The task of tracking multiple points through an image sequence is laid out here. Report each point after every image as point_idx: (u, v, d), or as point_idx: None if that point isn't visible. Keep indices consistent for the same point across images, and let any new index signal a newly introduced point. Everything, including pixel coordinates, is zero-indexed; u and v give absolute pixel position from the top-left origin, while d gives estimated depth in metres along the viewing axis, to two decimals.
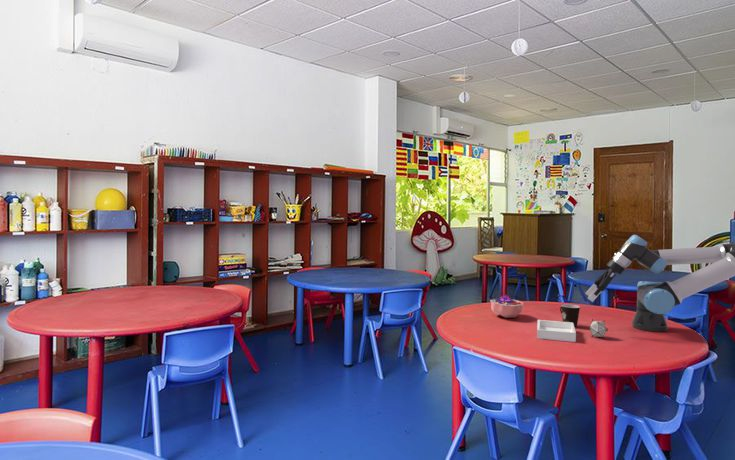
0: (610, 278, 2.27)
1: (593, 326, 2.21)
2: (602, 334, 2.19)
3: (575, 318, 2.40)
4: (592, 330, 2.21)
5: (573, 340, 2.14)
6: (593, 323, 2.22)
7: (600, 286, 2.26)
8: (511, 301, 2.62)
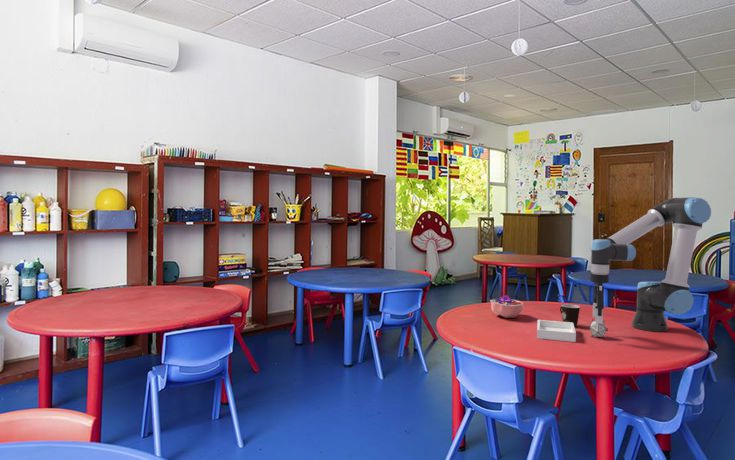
0: (601, 292, 2.14)
1: (593, 326, 2.21)
2: (602, 334, 2.19)
3: (575, 318, 2.40)
4: (592, 330, 2.21)
5: (573, 340, 2.14)
6: (593, 323, 2.22)
7: (598, 305, 2.12)
8: (511, 301, 2.62)
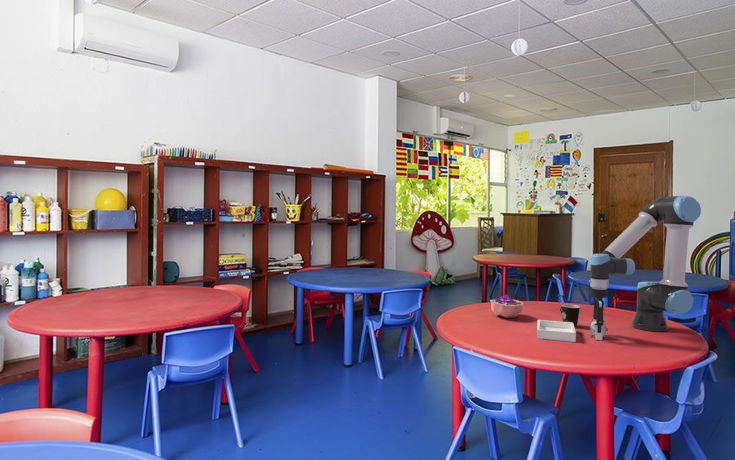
0: (601, 309, 2.15)
1: (593, 326, 2.21)
2: (602, 334, 2.19)
3: (575, 318, 2.40)
4: (592, 330, 2.21)
5: (573, 340, 2.14)
6: (593, 323, 2.22)
7: (597, 323, 2.14)
8: (511, 301, 2.62)
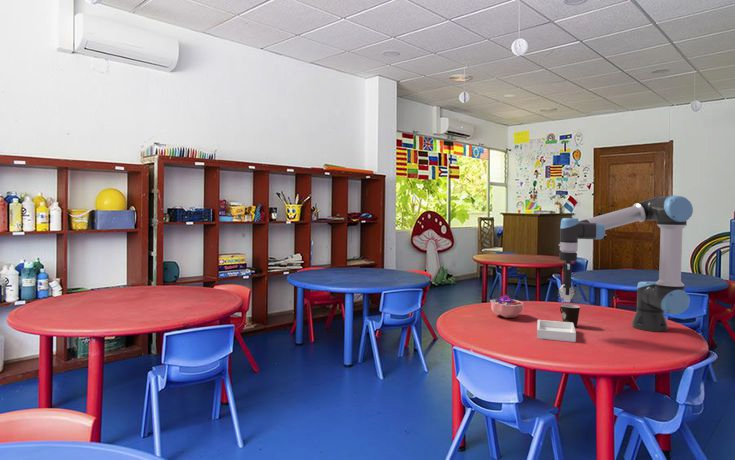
0: (569, 271, 2.17)
1: (562, 289, 2.23)
2: (570, 297, 2.22)
3: (575, 318, 2.40)
4: (561, 293, 2.23)
5: (573, 340, 2.14)
6: (562, 286, 2.24)
7: (565, 285, 2.16)
8: (511, 301, 2.62)
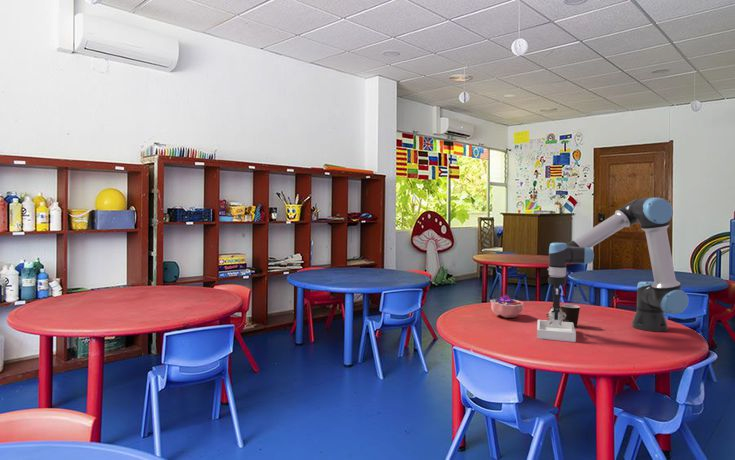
0: (557, 296, 2.19)
1: (551, 313, 2.25)
2: (559, 321, 2.23)
3: (575, 318, 2.40)
4: (550, 317, 2.25)
5: (573, 340, 2.14)
6: (551, 310, 2.26)
7: (554, 310, 2.18)
8: (511, 301, 2.62)
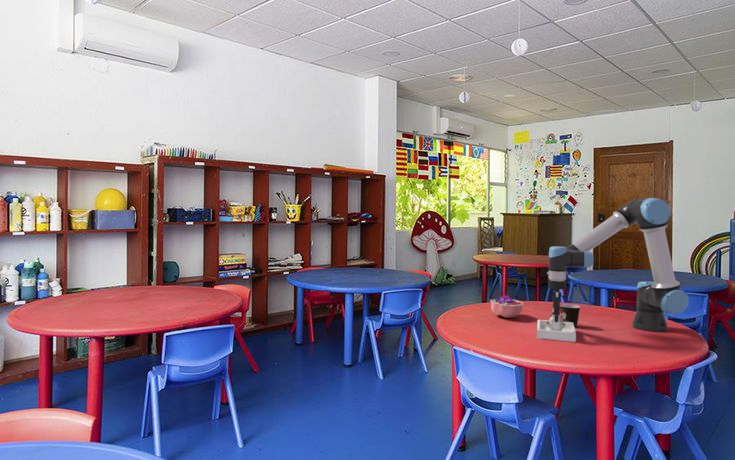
0: (557, 299, 2.19)
1: (551, 321, 2.25)
2: (559, 329, 2.24)
3: (575, 318, 2.40)
4: (550, 325, 2.25)
5: (573, 340, 2.14)
6: (551, 318, 2.26)
7: (554, 312, 2.17)
8: (511, 301, 2.62)
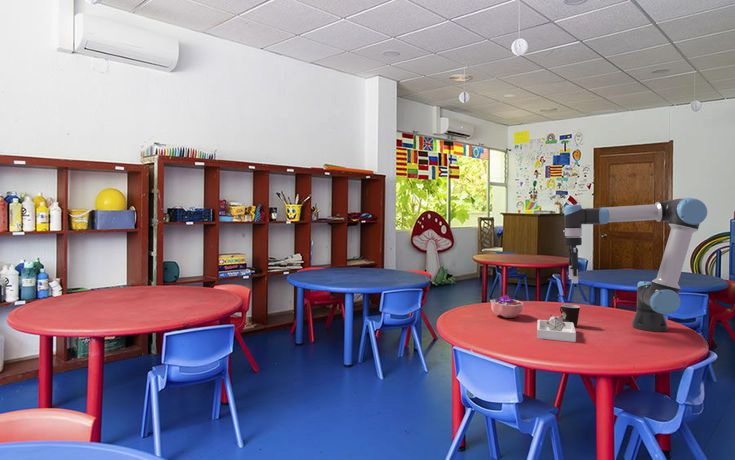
0: (575, 254, 2.27)
1: (551, 321, 2.25)
2: (559, 329, 2.24)
3: (575, 318, 2.40)
4: (550, 325, 2.25)
5: (573, 340, 2.14)
6: (551, 318, 2.26)
7: (573, 266, 2.25)
8: (511, 301, 2.62)
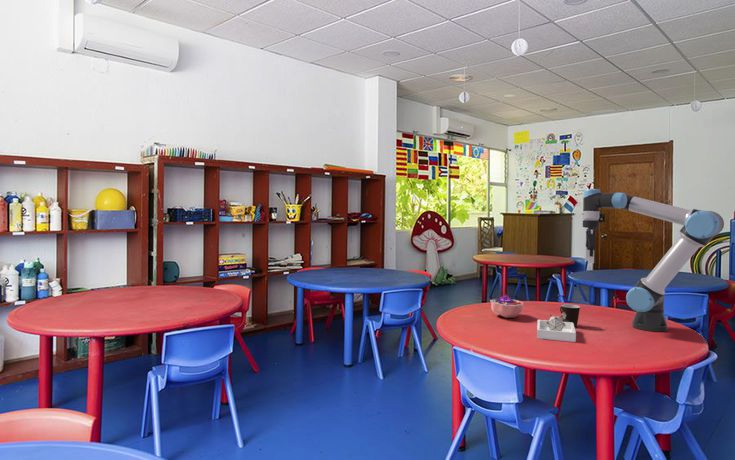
0: (592, 235, 2.39)
1: (551, 321, 2.25)
2: (559, 329, 2.24)
3: (575, 318, 2.40)
4: (550, 325, 2.25)
5: (573, 340, 2.14)
6: (551, 318, 2.26)
7: (589, 247, 2.37)
8: (511, 301, 2.62)
